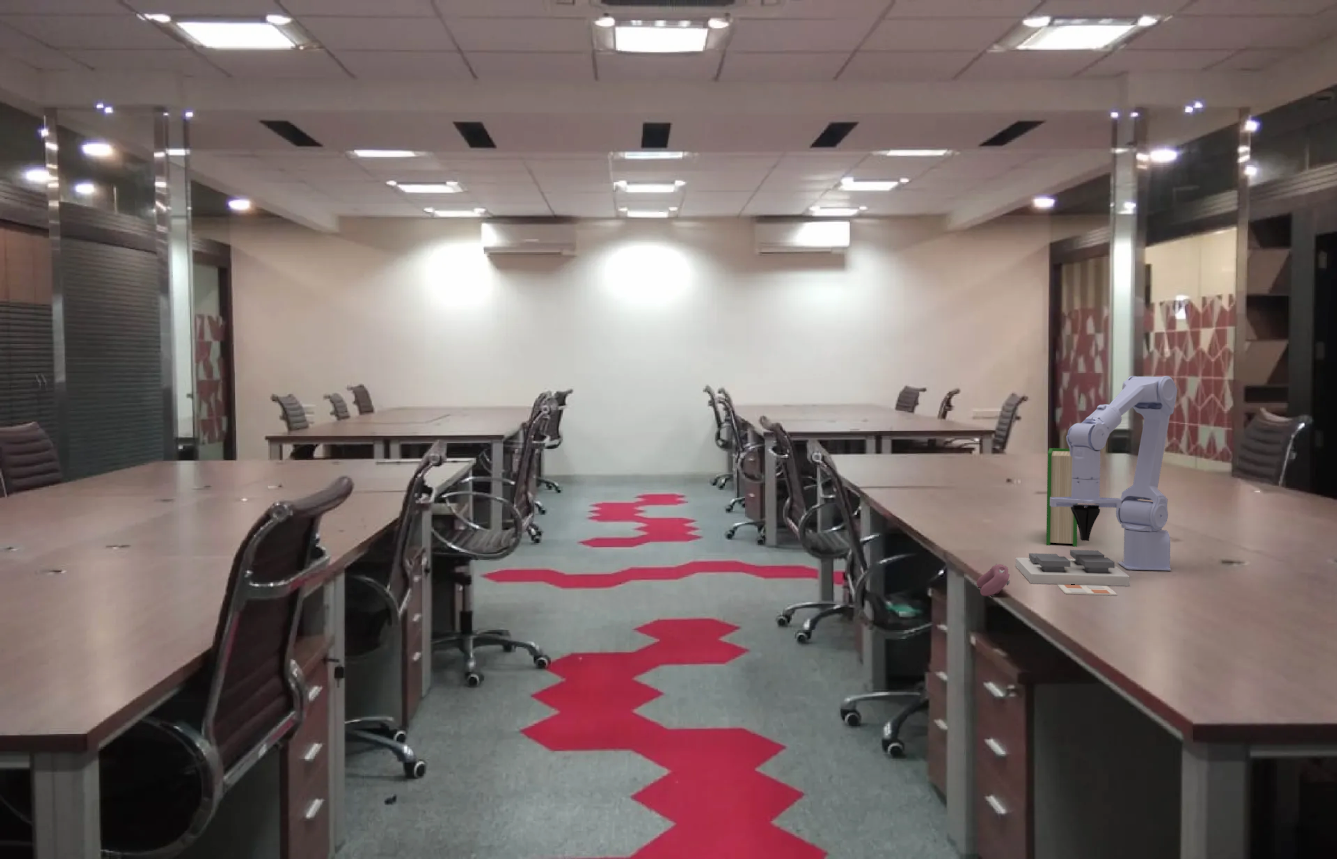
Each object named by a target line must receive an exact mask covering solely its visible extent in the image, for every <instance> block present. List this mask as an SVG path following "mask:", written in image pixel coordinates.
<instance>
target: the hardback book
mask: <svg viewBox="0 0 1337 859" xmlns="http://www.w3.org/2000/svg"><path fill="white" fill-rule="evenodd" d="M1046 473H1047V476H1046V477H1047V478H1046V482H1047V483H1046V484H1047V486H1046V530H1045V531H1046V533H1045V534H1046V535H1045V536H1046V541H1045V544H1046V546H1051V543H1053V544H1054V543H1056V544H1072V547H1076V548H1077V547H1078V525H1077V522H1076V519H1075V517H1074V515H1073V513H1072V510H1071V507H1051V506H1050V497H1071V496H1072V456H1070V449H1069V448H1059V447H1058V448H1057V447H1056V448H1055V447H1053V448H1051V447H1049V448H1048V451H1047V472H1046ZM1077 504H1079V503H1077Z"/></svg>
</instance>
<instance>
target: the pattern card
mask: <svg viewBox="0 0 1337 859" xmlns="http://www.w3.org/2000/svg"><path fill="white" fill-rule="evenodd" d="M1056 586H1057V587H1058V588H1059V590H1061V591H1062V592H1063V593H1064V594H1065V595H1081V596H1082V595H1087V596H1089V595H1090V596H1118V594H1117V593H1116V591H1114V590H1113V589H1112V588H1111V587H1109V586H1108V585H1071V584H1056Z"/></svg>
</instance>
